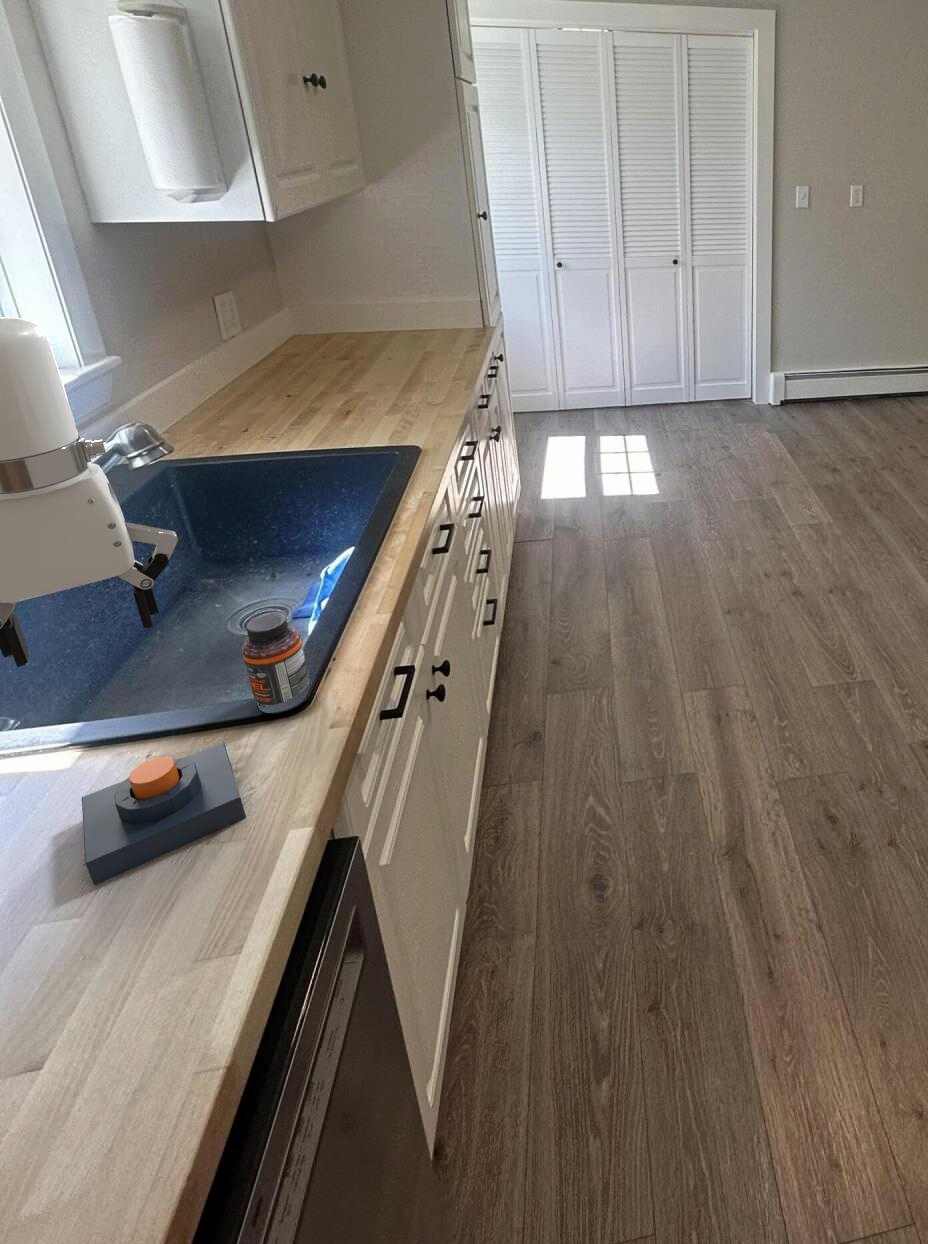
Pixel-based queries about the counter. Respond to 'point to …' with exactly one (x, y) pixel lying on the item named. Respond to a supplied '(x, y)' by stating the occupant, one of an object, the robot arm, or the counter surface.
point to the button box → (159, 815)
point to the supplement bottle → (274, 659)
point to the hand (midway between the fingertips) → (87, 639)
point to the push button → (154, 777)
